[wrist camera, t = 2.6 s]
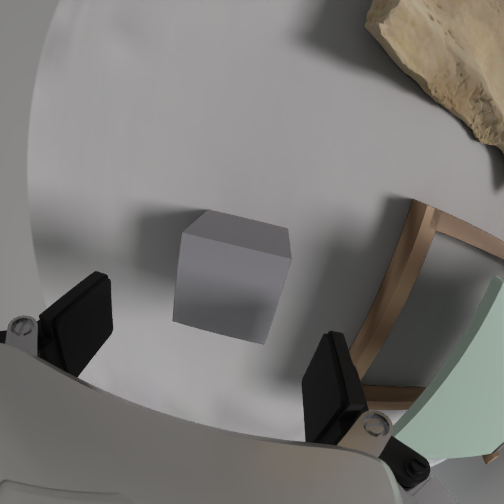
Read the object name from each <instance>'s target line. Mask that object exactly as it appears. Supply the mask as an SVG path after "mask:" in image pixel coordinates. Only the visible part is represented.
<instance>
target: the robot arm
mask: <svg viewBox="0 0 504 504" xmlns="http://www.w3.org/2000/svg"><path fill="white" fill-rule="evenodd" d="M39 318H40V320H38V321H36V320H35V319H34V318H32V317H30V316H19V317H16V318H14V319H13V320H12V321H11V322H10V323H9V325H8V328H7V331H0V504H459V503H458V502H457V500H456V499H455V498H454V497H453V496H452V494H451V493H450V492H449V491H448V490H447V489H446V488H445V487H444V486H443V485H442V484H441V482H440V481H439V480H438V479H437V478H436V477H435V476H433V477H431V476H430V475H429V474H430V465H429V462H428V461H427V459H426V458H425V457H423V456H422V455H420V454H419V453H417V452H416V451H414V450H413V449H411V448H410V447H408V446H407V445H405V444H404V443H402V442H401V441H399V440H398V439H396V438H395V437H393V436H392V432H393V425H392V422H391V420H390V419H389V418H388V417H387V416H386V415H385V414H383V413H381V412H379V411H375V410H369V409H368V405H367V402H366V398H365V395H364V392H363V388H362V385H361V382H360V378H359V375H358V372H357V369H356V367H355V365H353V362H352V359H351V356H350V353H349V350H348V347H347V344H346V340H345V337H344V335H343V333H339V332H334V331H329V332H328V334H324V335H323V337H322V339H321V341H320V343H319V345H318V347H317V350H316V352H315V354H314V356H313V358H312V360H311V362H310V364H309V366H308V368H307V371H306V373H305V375H304V377H303V379H302V394H303V408H304V423H305V440H306V442H300V441H290V440H282V439H275V438H268V437H261V436H255V435H249V434H244V433H238V432H233V431H228V430H224V429H219V428H215V427H211V426H207V425H203V424H199V423H195V422H191V421H188V420H184V419H181V418H177V417H174V416H171V415H168V414H164V413H161V412H158V411H155V410H152V409H150V408H147V407H144V406H141V405H139V404H136V403H133V402H131V401H128V400H126V399H123V398H121V397H118V396H116V395H113V394H111V393H109V392H106V391H104V390H102V389H100V388H98V387H95V386H93V385H91V384H89V383H87V382H85V381H83V380H81V379H79V378H77V377H78V376H79V375H80V373H81V372H82V371H83V369H84V368H85V367H86V365H87V364H88V363H89V362H90V360H91V359H92V358H93V356H94V355H95V354H96V353H97V351H98V350H99V349H100V348H101V346H102V345H103V344H104V343H105V341H106V340H107V339H108V338H109V336H110V335H111V334H112V331H113V319H112V303H111V281H110V279H108V276H107V275H106V274H103V273H100V272H97V271H95V272H93V273H92V274H91V275H89V276H88V277H87V278H85V279H84V280H83V281H81V282H80V283H79V284H77V285H76V286H75V287H74V288H72V289H71V290H70V291H68V292H67V293H66V294H65V295H63V296H62V297H61V298H60V299H58V300H57V301H56V302H55V303H54V304H52V305H51V306H50V307H49V308H47V309H46V310H45V311H44V312H43V313H42V314H40V315H39Z"/></svg>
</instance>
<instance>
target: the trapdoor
mask: <svg viewBox="0 0 504 504" xmlns="http://www.w3.org/2000/svg"><path fill="white" fill-rule="evenodd" d="M392 436H393V437H395V438H396V439H398V440H399V441H401V442H402V443H404V444H405V445H407V446H408V447H410V448H411V449H413V450H414V451H416V452H417V453H419V454H420V455H422V456H423V457H425V458H426V459H443V458H459V457H470V456H478V455H486V454H491V453H492V452H493V451H494V450H495V449H496V448H497V447H499V446H500V445H501V444H502V443H503V442H504V279H502V278H500V277H498V276H496V275H493V277H492V280H491V282H490V284H489V286H488V288H487V291H486V293H485V295H484V297H483V299H482V301H481V303H480V305H479V307H478V309H477V311H476V313H475V314H474V316H473V318H472V320H471V322H470V323H469V325H468V327H467V329H466V330H465V332H464V334H463V335H462V337H461V339H460V340H459V342H458V344H457V345H456V347H455V348H454V350H453V351H452V353H451V354H450V356H449V357H448V359H447V360H446V362H445V363H444V365H443V366H442V367H441V369H440V370H439V372H438V373H437V374H436V376H435V377H434V378H433V380H432V381H431V382H430V384H429V385H428V386H427V387H426V389H425V390H424V391H423V393H422V394H421V395H420V396H419V397H418V399H417V400H416V401H415V402H414V403H413V405H412V406H411V407H410V408H409V409H408V410H407V411H406V412H405V414H404V415H403V416H402V417H401V418H400V419H399V420H398V421H397V422H396V423H395V424H394V425H393V432H392Z"/></svg>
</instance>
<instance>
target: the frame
mask: <svg viewBox="0 0 504 504" xmlns="http://www.w3.org/2000/svg"><path fill="white" fill-rule="evenodd" d="M436 230H437V231H440V232H442V233H445V234H447V235H450V236H452V237H454V238H457V239H459V240H462V241H464V242H466V243H468V244H471V245H473V246H475V247H478V248H480V249H482V250H484V251H486V252H489V253H491V254H493V255H495V256H497V257H499V258H501V259H503V260H504V242H503V241H501V240H500V239H498V238H496V237H494V236H492V235H490V234H488V233H487V232H485V231H483V230H481V229H479V228H477V227H475V226H473V225H471V224H469V223H467V222H465V221H462V220H460V219H458V218H456V217H454V216H452V215H450V214H447V213H445V212H443V211H441V210H438V209H436V208H434V207H431V206H429V205H427V204H424V203H422V202H419V201H417V200H415V199H413V200H412V203H411V206H410V210H409V213H408V216H407V219H406V222H405V225H404V228H403V231H402V234H401V236H400V239H399V242H398V245H397V247H396V250H395V253H394V255H393V258H392V260H391V263H390V265H389V268H388V270H387V273H386V275H385V278H384V280H383V282H382V285H381V287H380V289H379V291H378V294H377V296H376V298H375V300H374V303H373V305H372V307H371V309H370V311H369V313H368V315H367V317H366V319H365V321H364V323H363V325H362V327H361V329H360V331H359V333H358V335H357V337H356V339H355V341H354V343H353V345H352V347H351V348H350V350H349V353H350V356H351V359H352V362H353V365H355V367H356V369H357V372H358V375H359V378H360V381H361V379H362V378H363V376H364V375H365V373H366V372H367V370H368V368H369V367H370V365H371V364H372V362H373V360H374V359H375V357H376V356H377V354H378V352H379V351H380V349H381V347H382V345H383V344H384V342H385V340H386V338H387V337H388V335H389V333H390V331H391V329H392V328H393V326H394V324H395V322H396V320H397V318H398V316H399V314H400V312H401V310H402V308H403V306H404V304H405V302H406V300H407V298H408V296H409V294H410V292H411V290H412V288H413V285H414V283H415V281H416V279H417V276H418V274H419V272H420V269H421V267H422V265H423V262H424V260H425V257H426V255H427V252H428V250H429V247H430V244H431V242H432V239H433V236H434V233H435V231H436ZM362 388H363V392H364V395H365V398H366V402H367V405H368V409H369V410H406V409H409V408H410V407H411V406H412V405H413V403H414V402H415V401H416V400H417V399H418V397H419V396H420V395H421V394H422V393H423V391H424V390H425V389H426V387H388V386H371V385H362ZM503 446H504V442H503V443H502V444H501V445H500V446H499V447H497V448H496V449H495V450H494V451H493V452H492V453H491V454H486V455H482V456H483V459H484V461H485V464H488V463H490V462H492V461H493V460H494V459H495V458H497V457H498V456H499V453H498V451H499V450H500V449H501V448H502V447H503Z"/></svg>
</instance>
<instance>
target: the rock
mask: <svg viewBox="0 0 504 504" xmlns="http://www.w3.org/2000/svg"><path fill="white" fill-rule="evenodd" d="M366 19H367V22H366V23H365V25H364V27H365V28H366V29H367V30H368V31H369V32H370V33H371V34H372V36H373V37H374V38H375V39H376V40H377V41H378V42H379V43H380V44H381V46H382V47H383V48H384V49H385V51H386V52H387V53H388V55H389V56H390V58H391V59H392V60H393V61H394V62H395V63H396V64H397V65H398V66H399V67H400V69H401V70H402V71H403V72H404V73H405V74H407V75H409V76H410V77H412V78H413V79H414V80H415V81H416V82H417V83H418V84H419V85H420V87H421V88H422V89H423V90H424V92H425V93H427V94H428V95H429V96H430V97H432V98H433V99H434V101H435V102H437V103H439V104H441V105H442V106H444V107H445V108H446V109H447V110H448V111H449V112H451V113H452V114H453V115H455V116H456V117H458V118H460V119H461V120H462V121H463V122H464V123H465V124H466V125H467V126H468V127H469V128H470V129H471V130H472V131H473V134H474V136H475V138H477V139H478V140H479V141H480V143H483V144H488V145H495V146H496V147H498V148H499V149H501V150H502V152H503V154H504V0H373V1H372V4H371V6H370V9H369V11H368V12H367V15H366Z"/></svg>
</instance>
